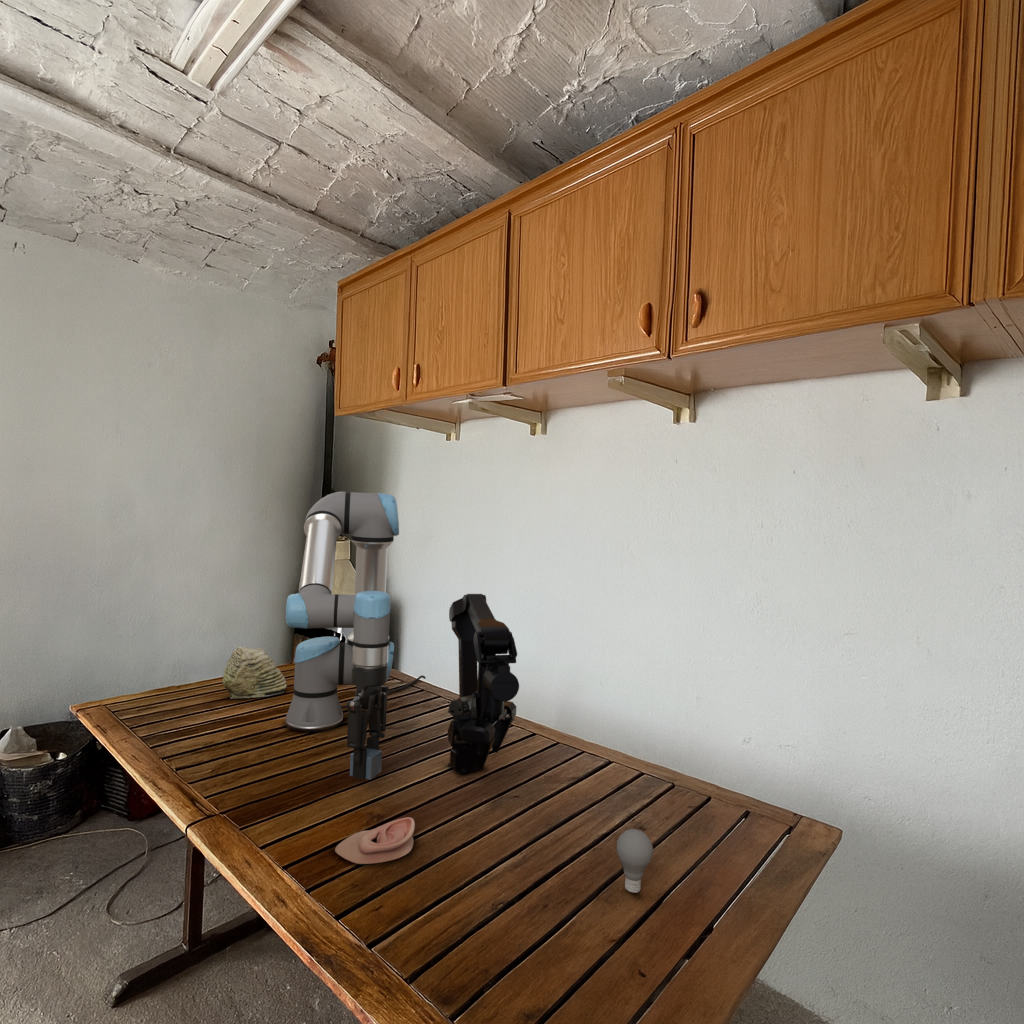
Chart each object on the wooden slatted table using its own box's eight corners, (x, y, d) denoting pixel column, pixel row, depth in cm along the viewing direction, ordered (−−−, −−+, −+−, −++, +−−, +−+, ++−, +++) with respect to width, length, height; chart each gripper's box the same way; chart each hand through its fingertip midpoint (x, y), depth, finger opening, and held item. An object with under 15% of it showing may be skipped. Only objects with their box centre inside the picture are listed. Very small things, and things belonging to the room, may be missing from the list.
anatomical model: (327, 836, 111) (356, 806, 122) (326, 858, 111) (355, 826, 122) (398, 848, 108) (421, 815, 119) (397, 871, 108) (420, 836, 119)
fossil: (218, 695, 195) (220, 647, 195) (278, 685, 208) (279, 640, 207) (228, 703, 189) (230, 653, 188) (289, 692, 201) (290, 645, 201)
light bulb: (610, 879, 108) (613, 822, 108) (644, 879, 109) (647, 822, 109) (619, 902, 102) (622, 840, 102) (655, 901, 103) (658, 840, 103)
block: (360, 767, 139) (361, 746, 139) (381, 771, 137) (382, 750, 137) (349, 775, 135) (350, 754, 135) (370, 779, 133) (371, 758, 133)
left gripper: (375, 653, 145) (371, 754, 145) (331, 672, 128) (326, 786, 129) (405, 657, 143) (400, 760, 143) (363, 676, 126) (359, 793, 126)
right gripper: (471, 670, 143) (468, 739, 144) (437, 693, 126) (433, 771, 126) (518, 676, 140) (515, 746, 140) (489, 701, 122) (486, 781, 123)
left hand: (365, 772), depth 136 cm, fingers closed on block, 4 cm apart
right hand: (487, 760), depth 132 cm, fingers open, 9 cm apart
